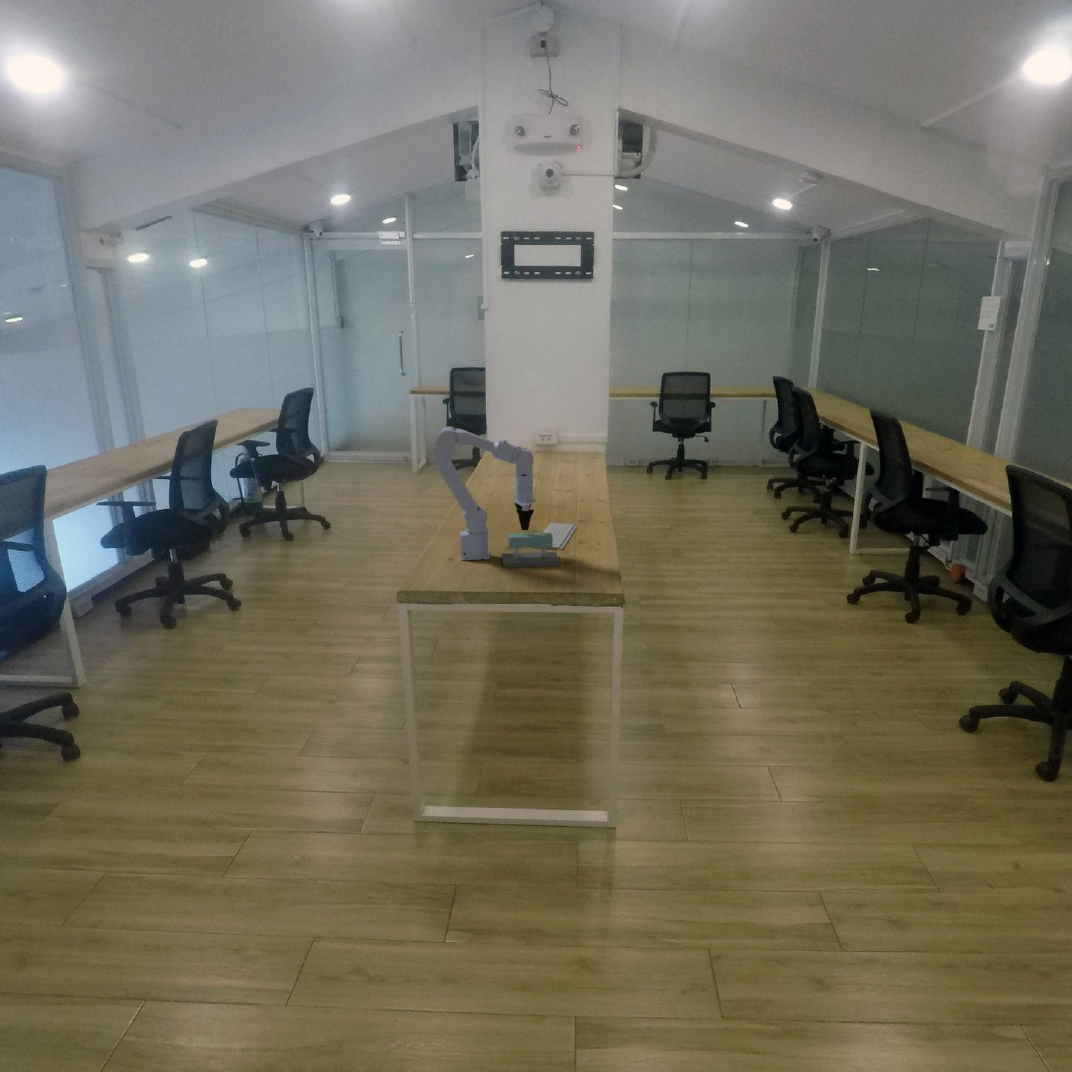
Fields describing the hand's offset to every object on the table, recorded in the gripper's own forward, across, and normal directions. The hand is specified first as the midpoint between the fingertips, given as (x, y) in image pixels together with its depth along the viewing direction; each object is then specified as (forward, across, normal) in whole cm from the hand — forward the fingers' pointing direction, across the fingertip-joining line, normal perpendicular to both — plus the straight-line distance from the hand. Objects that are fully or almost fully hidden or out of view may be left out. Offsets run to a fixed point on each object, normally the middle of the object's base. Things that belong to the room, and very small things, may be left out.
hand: (524, 526), depth 248 cm
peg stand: (+10, -6, -2) cm, 12 cm away
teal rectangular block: (+5, -6, -2) cm, 7 cm away
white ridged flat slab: (+11, +22, -14) cm, 28 cm away
